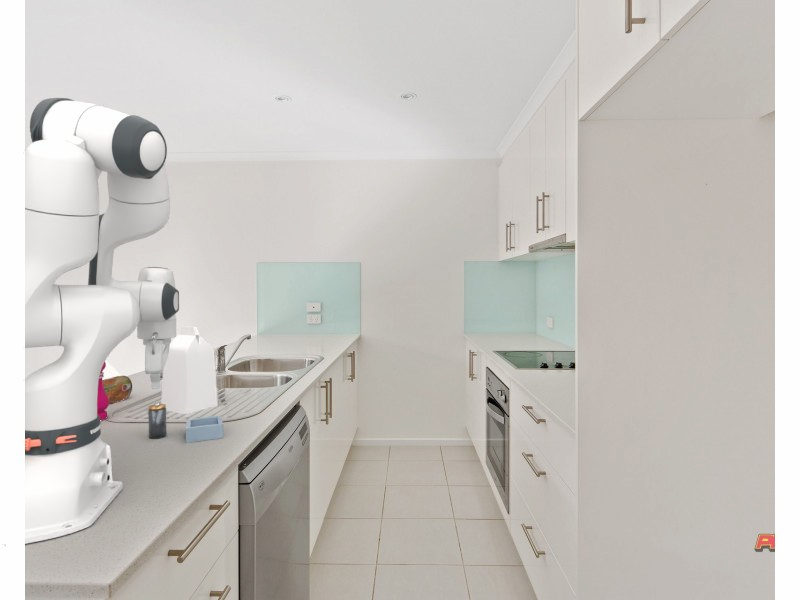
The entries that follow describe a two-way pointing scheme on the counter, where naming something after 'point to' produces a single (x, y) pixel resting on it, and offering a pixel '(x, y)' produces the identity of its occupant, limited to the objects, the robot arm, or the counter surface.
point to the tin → (117, 388)
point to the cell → (157, 421)
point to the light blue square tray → (204, 429)
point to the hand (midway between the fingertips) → (157, 383)
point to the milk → (189, 374)
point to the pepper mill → (102, 397)
